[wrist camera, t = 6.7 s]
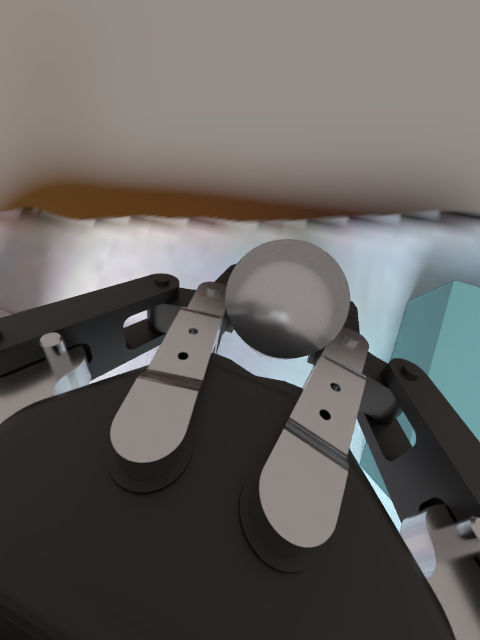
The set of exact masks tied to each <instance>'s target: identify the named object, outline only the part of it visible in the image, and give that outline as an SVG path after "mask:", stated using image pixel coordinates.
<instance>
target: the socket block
mask: <svg viewBox="0 0 480 640" xmlns="http://www.w3.org/2000/svg"><path fill="white" fill-rule="evenodd" d="M394 358H402V359H405V360H408V361H410V362H412V363H414V364H416V365H417V366H418V367H420V368H421V369H422V370H423V371H424V372H425V373H426V374H427V375H428V376H429V378H430V379H431V380H432V382H433V383H434V384H435V385H436V387H437V388H438V389H439V390H440V392H441V393H442V394H443V396H444V397H445V398H446V399H447V401H448V402H449V403H450V405H451V406H452V407H453V408H454V410H455V411H456V412H457V413H458V415H459V416H460V417H461V419H462V420H463V421H464V422H465V424H466V425H467V426H468V428H469V429H470V430H471V431H472V433H473V434H474V435H475V436H476V438H477V439H478V440H479V442H480V287H477V286H473V285H470V284H466V283H463V282H459V281H456V280H453V281H451V282H449V283H447V284H445V285H443V286H440V287H438V288H436V289H434V290H432V291H430V292H427V293H425V294H423V295H421V296H419V297H417V298H414V299H412V300H410V301H408V303H407V307H406V310H405V313H404V317H403V320H402V324H401V327H400V330H399V334H398V337H397V340H396V344H395V347H394V351H393V354H392V357H391V360H392V359H394ZM397 420H398V422H399V423H400V425H401V427H402V429H403V431H404V432H405V434H406V436H407V438H408V439H409V441H410V443H411V445H412V447H413V446H414V445H415V443H416V434H415V431H414V429H413V428H412V426H411V424H410V422H409V421H408V419H407V417H406V416H405V414H404V412H403V413H401V414H400V415H399V416H398V417H397ZM360 466H361V467H362V468H363V469H364V470H365V471H366V473H367V474H368V475H369V476H370V477H371V478H372V479H373V480H374V482H375V483H376V484H377V485H378V486H379V487H380V488H381V489H382V491H383V492H384V493H385V494H386V495H387V496H388V497H389V498H390V495H389V493H388V490H387V488H386V486H385V483H384V481H383V479H382V476H381V474H380V472H379V469H378V467H377V465H376V462H375V460H374V457H373V455H372V453H371V450H370V448H369V446H368V443H367V442H366V445H365V449H364V452H363V455H362V459H361V462H360ZM390 499H391V498H390ZM391 501H392V500H391Z"/></svg>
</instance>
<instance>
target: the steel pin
mask: <svg viewBox="0 0 480 640" xmlns="http://www.w3.org/2000/svg"><path fill="white" fill-rule="evenodd" d="M225 301H226V309H227V314H228V317H229V320H230V322H231V324H232V326H233V328H234V330H235V331H236V332H237V334H238V335H239V336H240V337H241V338H242V340H243V341H244V342H245V343H246V344H247V345H248V346H249V347H250V348H251V349H252V350H253V351H254V352H255V353H256V354H257V355H259V356H260V357H262V358H264V359H266V360H270V361H279V360H286V359H292V358H298V357H303V356H307V355H310V354H312V353H315V352H317V351H319V350H321V349H322V348H324V347H325V346H326V345H328V344H329V343H330V342H331V341H332V340H333V339H334V338H335V337H336V336H337V335H338V333H339V332H340V331H341V329H342V327H343V325H344V323H345V321H346V319H347V315H348V312H349V306H350V292H349V286H348V283H347V280H346V277H345V275H344V273H343V271H342V269H341V268H340V266H339V265H338V263H337V262H336V261H335V260H334V259H333V258H332V257H331V256H330V255H329V254H328V253H327V252H325V251H324V250H322V249H321V248H319V247H317V246H315V245H313V244H310V243H307V242H304V241H300V240H292V239H282V240H275V241H271V242H267V243H265V244H262V245H260V246H258V247H256V248H254V249H253V250H251V251H250V252H248V253H247V254H246V255H245V256H244V257H243V258H242V259H241V260H240V261H239V262H238V263H237V265H236V266H235V268H234V269H233V271H232V273H231V275H230V277H229V280H228V283H227V288H226V296H225Z"/></svg>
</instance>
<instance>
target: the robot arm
mask: <svg viewBox="0 0 480 640" xmlns="http://www.w3.org/2000/svg"><path fill="white" fill-rule="evenodd" d="M236 265H237V264H234V265H231V266H230V267H229V268H228V269H227V270H226V271H225V272H224V273H223V274H222V275H221V276H220V277H219V278H218V279H217V280H216V281H215V282H204V283H202V284H200V285H199V286H198V288H197V290H191V289H185V288H179V280H178V279H177V278H176V277H174V276H172V275H169V274H161V273H160V274H153V275H149V276H146V277H142V278H139V279H135V280H132V281H128V282H124V283H121V284H117V285H114V286H110V287H107V288H103V289H100V290H96V291H93V292H89V293H86V294H82V295H79V296H75V297H72V298H68V299H65V300H61V301H58V302H54V303H51V304H47V305H44V306H40V307H37V308H33V309H30V310H26V311H23V312H19V313H15V314H11V313H9V312H7V311H4V310H0V423H1V424H0V640H480V442H479V440H478V439H477V438H476V436H475V435H474V434H473V433H472V431H471V430H470V429H469V428H468V426H467V425H466V424H465V422H464V421H463V420H462V419H461V417H460V416H459V415H458V413H457V412H456V411H455V410H454V408H453V407H452V406H451V405H450V403H449V402H448V401H447V399H446V398H445V397H444V396H443V394H442V393H441V392H440V390H439V389H438V388H437V387H436V385H435V384H434V383H433V382H432V380H431V379H430V378H429V376H428V375H427V374H426V373H425V372H424V371H423V370H422V369H421V368H420V367H418V366H417V365H416V364H414V363H412V362H410V361H408V360H405V359H402V358H394V359H392V360H390V362H389V363H388V364H387V363H386V362H384V361H382V360H380V359H379V358H377V357H375V356H374V355H372V354H371V353H370V352H368V349H369V344H368V342H367V340H366V339H365V338H364V337H363V336H362V335H361V334H360V332H359V321H358V310H357V307H356V306H355V304H354V303H353V302H352V301H350V306H349V312H348V315H347V319H346V321H345V323H344V325H343V327H342V329H341V331H340V332H339V333H338V335H337V336H336V337H335V338H334V339H333V340H332V341H331V342H330V343H329V344H328V345H326V346H325V347H324V348H322V349H321V350H319V351H317V352H315V353H312V354H310V355H308V360H307V362H308V363H310V364H313V365H314V367H313V369H312V371H311V373H310V375H309V377H308V378H307V380H306V382H305V384H304V386H303V388H300V387H298V386H295V385H293V384H290V383H288V382H285V381H280V380H275V379H270V378H264V377H259V376H255V375H253V374H251V373H250V372H248V371H247V370H245V369H244V368H242V367H241V366H239V365H238V364H236V363H235V362H233V361H232V360H230V359H228V358H225V357H223V356H220V355H218V354H217V353H218V349H219V346H220V342H221V337H222V335H223V333H224V332H225V331H228V332H230V333H232V331H233V330H234V328H233V326H232V324H231V322H230V320H229V317H228V314H227V309H226V301H225V296H226V288H227V283H228V280H229V277H230V275H231V273H232V271H233V269H234V268H235V266H236ZM145 310H147V319H144V320H142V321H140V322H137V323H135V324H132V325H130V326H128V327H125V328H123V325H124V322H125V320H126V319H127V318H128V317H130V316H132V315H135V314H137V313H140V312H142V311H145ZM159 345H160V347H159V349H158V350H157V352H156V354H155V356H154V358H153V360H152V361H151V363H150V365H147V366H144V367H141V368H138V369H135V370H132V371H129V372H126V373H122V374H119V375H116V376H113V377H110V378H107V379H104V380H101V381H98V382H95V383H92V384H89V382H90V381H91V380H93V379H95V378H97V377H99V376H101V375H103V374H105V373H107V372H109V371H110V370H112V369H114V368H116V367H118V366H120V365H122V364H124V363H126V362H128V361H130V360H132V359H134V358H136V357H138V356H139V355H141V354H143V353H145V352H147V351H149V350H151V349H153V348H155V347H157V346H159ZM88 384H89V385H88ZM403 412H404V414H405V416H406V417H407V419H408V421H409V422H410V424H411V426H412V428H413V429H414V431H415V434H416V443H415V445H414V446H413V447H412V445H411V443H410V441H409V439H408V438H407V436H406V434H405V432H404V431H403V429H402V427H401V425H400V423H399V422H398V420H397V417H398V416H399V415H400V414H401V413H403ZM356 418H357V420H358V422H359V424H360V427H361V429H362V431H363V434H364V436H365V439H366V441H367V443H368V446H369V448H370V450H371V453H372V455H373V457H374V460H375V462H376V465H377V467H378V469H379V472H380V474H381V476H382V479H383V481H384V483H385V486H386V488H387V490H388V493H389V495H390V498H391V500H392V502H393V505H394V507H395V509H396V512H397V514H398V516H399V519H400V521H401V528H400V533H399V531H398V530H397V528H396V526H395V525H394V523H393V521H392V520H391V518H390V516H389V515H388V513H387V511H386V509H385V508H384V506H383V504H382V503H381V501H380V499H379V498H378V496H377V494H376V493H375V491H374V489H373V488H372V486H371V484H370V482H369V481H368V479H367V477H366V476H365V474H364V472H363V471H362V469H361V467H360V466H359V464H358V462H357V460H356V459H355V457H354V455H353V454H352V452H351V450H350V449H349V447H350V443H351V438H352V434H353V430H354V426H355V422H356Z"/></svg>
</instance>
